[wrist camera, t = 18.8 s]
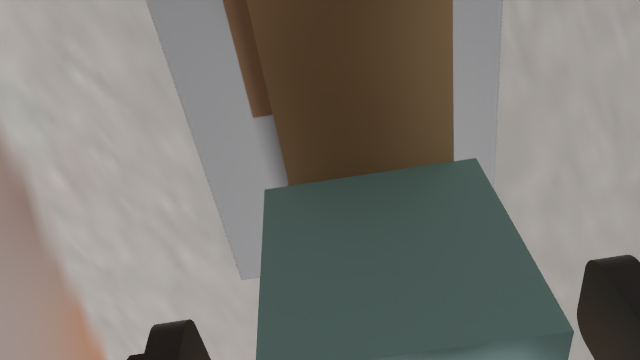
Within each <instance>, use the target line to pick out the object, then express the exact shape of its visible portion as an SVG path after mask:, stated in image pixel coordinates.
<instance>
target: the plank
mask: <svg viewBox="0 0 640 360" xmlns="http://www.w3.org/2000/svg"><path fill="white" fill-rule="evenodd" d="M246 1H247V5H248V10H249V14H250V18H251V23H252V27H253V31H254V36H255V40H256V44H257V48H258V53H259V57H260V61H261V66H262V70H263V74H264V79H265V83H266V87H267V92H268V96H269V100H270V104H271V109H272V113H273V117H274V122H275V126H276V130H277V135H278V139H279V143H280V148H281V152H282V156H283V161H284V165H285V169H286V173H287V178H288V182H289V186H292V185H299V184H305V183H312V182H319V181H325V180H332V179H339V178H345V177H352V176H359V175H366V174H372V173H379V172H386V171H392V170H399V169H406V168H412V167H419V166H426V165H432V164H439V163H446V162H452V161H454V104H453V0H246Z"/></svg>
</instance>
